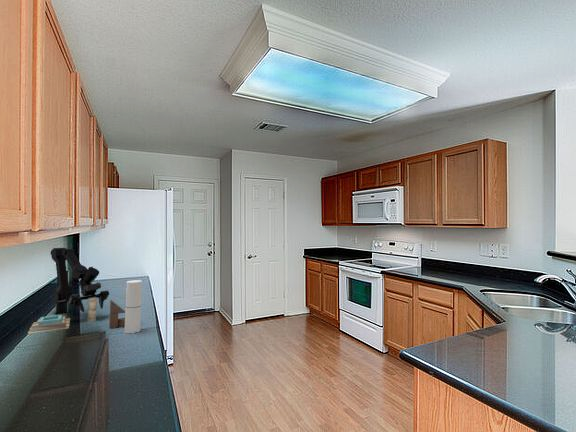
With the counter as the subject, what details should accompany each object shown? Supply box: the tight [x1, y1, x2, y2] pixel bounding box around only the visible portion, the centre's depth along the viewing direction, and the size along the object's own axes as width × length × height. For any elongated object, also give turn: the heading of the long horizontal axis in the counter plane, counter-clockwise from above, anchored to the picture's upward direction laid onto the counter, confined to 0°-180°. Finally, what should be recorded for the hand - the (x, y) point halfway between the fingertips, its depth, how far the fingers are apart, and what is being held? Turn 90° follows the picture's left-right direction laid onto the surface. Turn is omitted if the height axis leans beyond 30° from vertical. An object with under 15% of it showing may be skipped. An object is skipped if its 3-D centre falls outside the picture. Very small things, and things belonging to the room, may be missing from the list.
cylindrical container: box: [124, 279, 143, 334], centre depth 156 cm, size 7×7×25 cm
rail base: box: [27, 315, 71, 335], centre depth 160 cm, size 20×16×3 cm
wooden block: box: [108, 299, 126, 329], centre depth 164 cm, size 4×11×18 cm, turn 126°
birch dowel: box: [87, 297, 98, 322], centre depth 170 cm, size 4×4×13 cm
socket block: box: [38, 314, 63, 325], centre depth 159 cm, size 9×9×4 cm
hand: (93, 310), depth 169 cm, fingers open, 9 cm apart
